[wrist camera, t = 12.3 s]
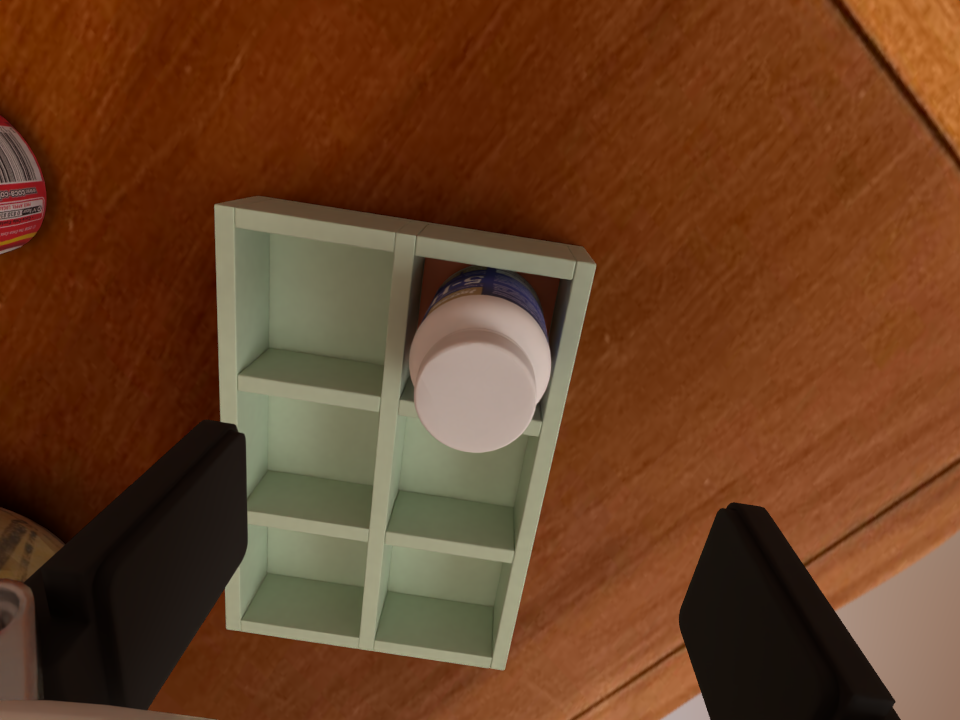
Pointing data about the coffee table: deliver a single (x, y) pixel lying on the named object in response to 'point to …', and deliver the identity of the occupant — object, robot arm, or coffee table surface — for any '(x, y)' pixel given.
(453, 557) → the rack
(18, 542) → the ceramic bowl
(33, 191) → the soda can
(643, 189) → the coffee table surface
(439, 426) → the pill bottle
